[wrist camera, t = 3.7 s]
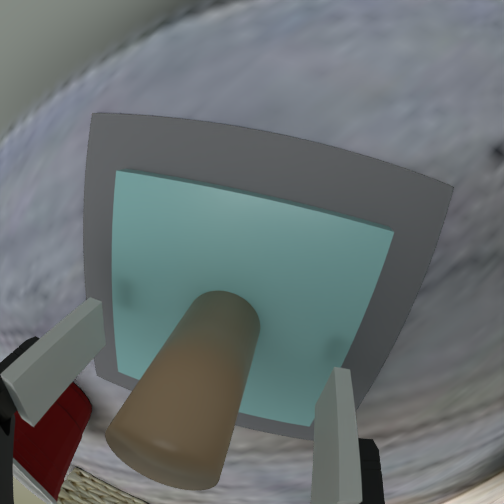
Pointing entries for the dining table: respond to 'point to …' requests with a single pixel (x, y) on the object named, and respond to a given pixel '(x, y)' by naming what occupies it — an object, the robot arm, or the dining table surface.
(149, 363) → the lid
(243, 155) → the mat
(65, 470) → the plastic cup
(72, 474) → the storage basket
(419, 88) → the dining table surface
